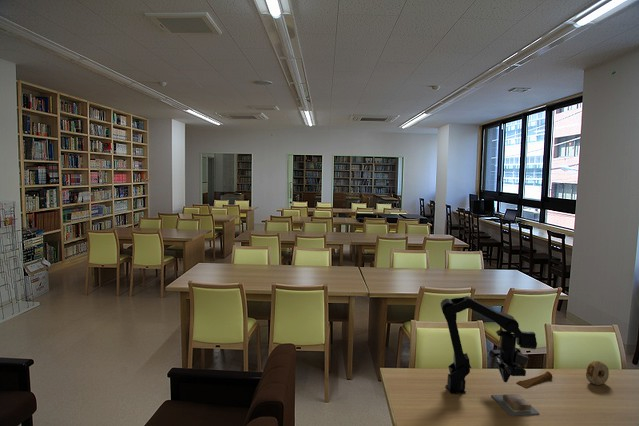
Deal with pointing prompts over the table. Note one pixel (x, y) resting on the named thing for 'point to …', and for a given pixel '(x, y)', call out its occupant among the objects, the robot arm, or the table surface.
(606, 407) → the table surface
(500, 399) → the mat
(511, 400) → the tile
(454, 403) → the table surface
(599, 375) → the stone disc
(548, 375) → the primitive tool
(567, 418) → the table surface
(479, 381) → the table surface
